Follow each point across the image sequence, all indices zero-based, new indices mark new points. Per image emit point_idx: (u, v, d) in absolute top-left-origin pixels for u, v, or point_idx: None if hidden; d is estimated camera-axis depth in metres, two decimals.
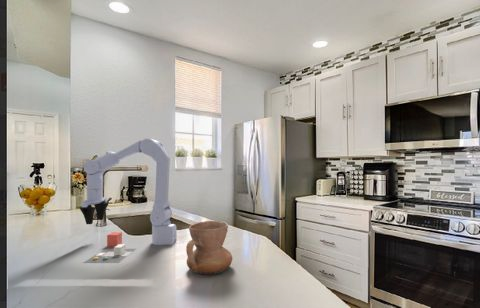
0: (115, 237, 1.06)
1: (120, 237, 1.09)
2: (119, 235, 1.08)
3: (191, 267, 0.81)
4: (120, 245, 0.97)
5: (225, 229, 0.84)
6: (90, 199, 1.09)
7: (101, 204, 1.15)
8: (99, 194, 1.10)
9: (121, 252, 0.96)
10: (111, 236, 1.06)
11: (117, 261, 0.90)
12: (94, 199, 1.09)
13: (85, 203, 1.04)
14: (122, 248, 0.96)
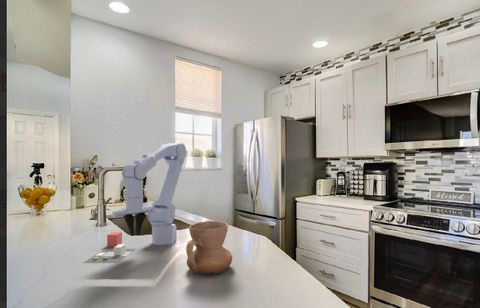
0: (115, 237, 1.06)
1: (120, 237, 1.09)
2: (119, 235, 1.08)
3: (191, 267, 0.81)
4: (120, 245, 0.97)
5: (225, 229, 0.84)
6: (126, 208, 0.95)
7: (137, 216, 0.97)
8: (133, 204, 0.94)
9: (121, 252, 0.96)
10: (111, 236, 1.06)
11: (117, 261, 0.90)
12: (128, 209, 0.94)
13: (113, 213, 0.92)
14: (122, 248, 0.96)
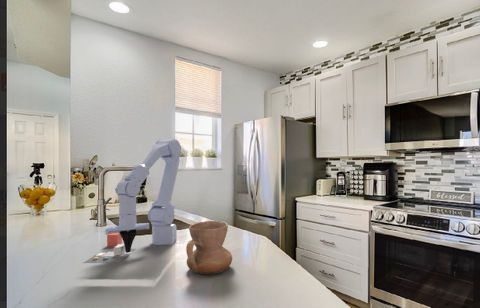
0: (115, 237, 1.06)
1: (120, 237, 1.09)
2: (119, 235, 1.08)
3: (191, 267, 0.81)
4: (120, 245, 0.97)
5: (225, 229, 0.84)
6: (119, 225, 0.96)
7: (128, 233, 0.96)
8: (125, 221, 0.94)
9: (121, 252, 0.96)
10: (111, 236, 1.06)
11: (117, 261, 0.90)
12: (120, 226, 0.95)
13: (105, 230, 0.93)
14: (122, 248, 0.96)
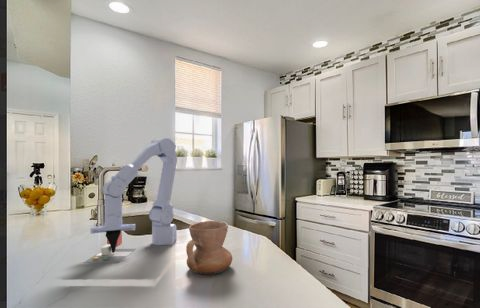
0: None
1: (120, 237, 1.09)
2: (119, 235, 1.08)
3: (191, 267, 0.81)
4: (108, 245, 0.97)
5: (225, 229, 0.84)
6: None
7: None
8: (108, 222, 0.94)
9: (108, 252, 0.96)
10: None
11: (117, 261, 0.90)
12: (104, 226, 0.95)
13: None
14: (110, 248, 0.96)
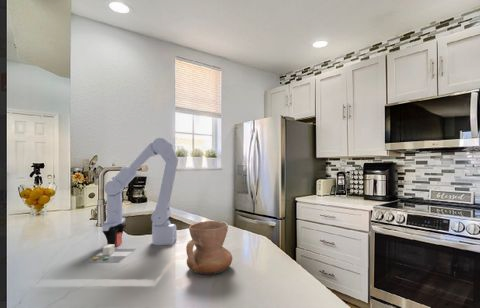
0: None
1: (120, 237, 1.09)
2: (119, 235, 1.08)
3: (191, 267, 0.81)
4: (109, 245, 0.97)
5: (225, 229, 0.84)
6: (110, 221, 1.05)
7: (118, 226, 1.10)
8: (119, 216, 1.07)
9: (110, 252, 0.96)
10: None
11: (117, 261, 0.90)
12: (114, 221, 1.06)
13: (106, 226, 1.01)
14: (111, 248, 0.96)
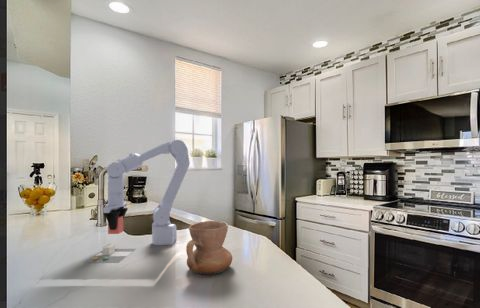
0: None
1: (121, 221, 1.06)
2: (120, 218, 1.05)
3: (191, 267, 0.81)
4: (109, 245, 0.97)
5: (225, 229, 0.84)
6: (111, 204, 1.03)
7: (120, 210, 1.07)
8: (120, 199, 1.04)
9: (110, 252, 0.96)
10: None
11: (117, 261, 0.90)
12: (115, 204, 1.03)
13: (107, 208, 0.98)
14: (111, 248, 0.96)
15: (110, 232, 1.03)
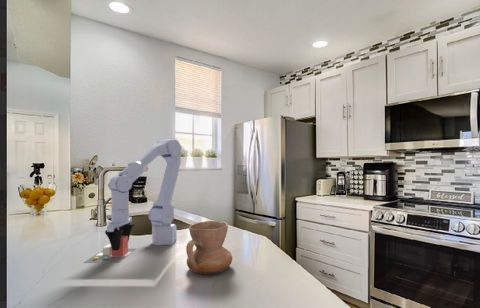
0: (121, 241, 0.95)
1: (126, 241, 0.98)
2: (125, 239, 0.97)
3: (191, 267, 0.81)
4: (109, 245, 0.97)
5: (225, 229, 0.84)
6: (116, 221, 0.94)
7: (126, 226, 1.00)
8: (125, 216, 0.96)
9: (110, 252, 0.96)
10: None
11: (117, 261, 0.90)
12: (120, 221, 0.94)
13: (111, 227, 0.90)
14: (111, 248, 0.96)
15: (114, 254, 0.95)
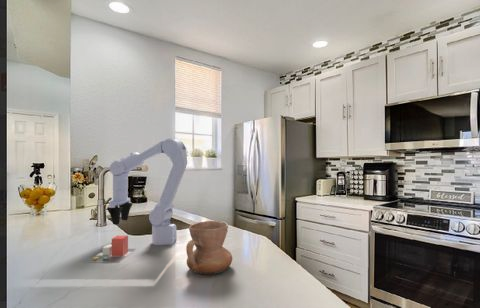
0: (121, 241, 0.95)
1: (126, 241, 0.98)
2: (125, 239, 0.97)
3: (191, 267, 0.81)
4: (109, 245, 0.97)
5: (225, 229, 0.84)
6: (116, 200, 1.11)
7: (126, 204, 1.17)
8: (125, 195, 1.12)
9: (110, 252, 0.96)
10: (116, 240, 0.95)
11: (117, 261, 0.90)
12: (120, 200, 1.11)
13: (113, 203, 1.06)
14: (111, 248, 0.96)
15: (114, 254, 0.95)
